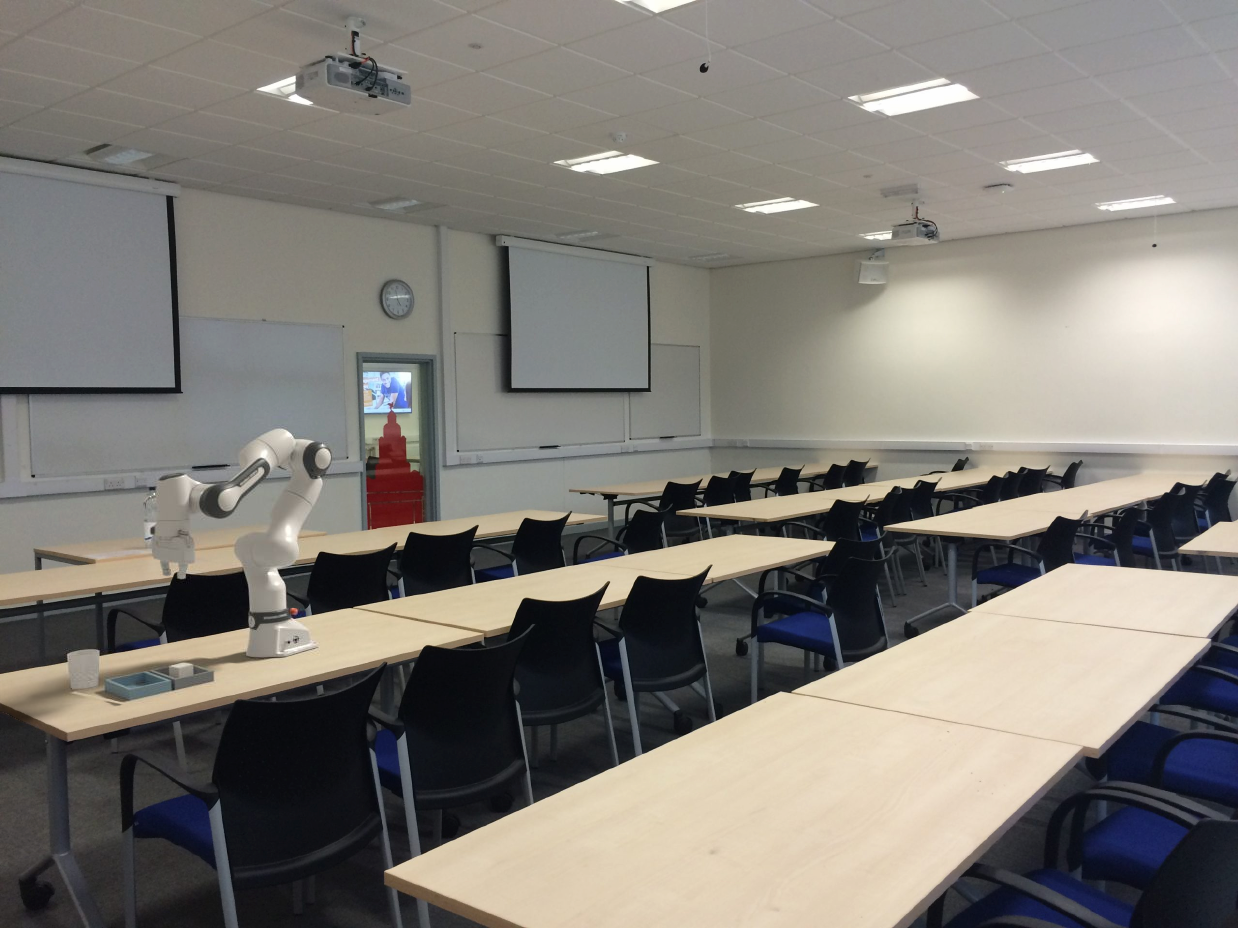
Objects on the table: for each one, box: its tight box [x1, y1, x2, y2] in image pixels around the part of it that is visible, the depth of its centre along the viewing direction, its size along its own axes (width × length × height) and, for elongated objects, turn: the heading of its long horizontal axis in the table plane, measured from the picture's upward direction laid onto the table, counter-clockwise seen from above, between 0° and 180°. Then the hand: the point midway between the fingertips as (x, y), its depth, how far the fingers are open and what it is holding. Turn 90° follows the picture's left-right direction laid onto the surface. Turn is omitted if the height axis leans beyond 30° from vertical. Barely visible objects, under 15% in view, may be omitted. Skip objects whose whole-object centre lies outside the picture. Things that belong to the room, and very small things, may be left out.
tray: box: [148, 662, 215, 691], centre depth 262 cm, size 11×16×4 cm
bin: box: [104, 670, 173, 702], centre depth 253 cm, size 11×16×4 cm
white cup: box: [66, 648, 100, 690], centre depth 259 cm, size 8×8×10 cm
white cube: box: [168, 662, 194, 679], centre depth 262 cm, size 4×4×4 cm
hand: (174, 577), depth 264 cm, fingers open, 8 cm apart
